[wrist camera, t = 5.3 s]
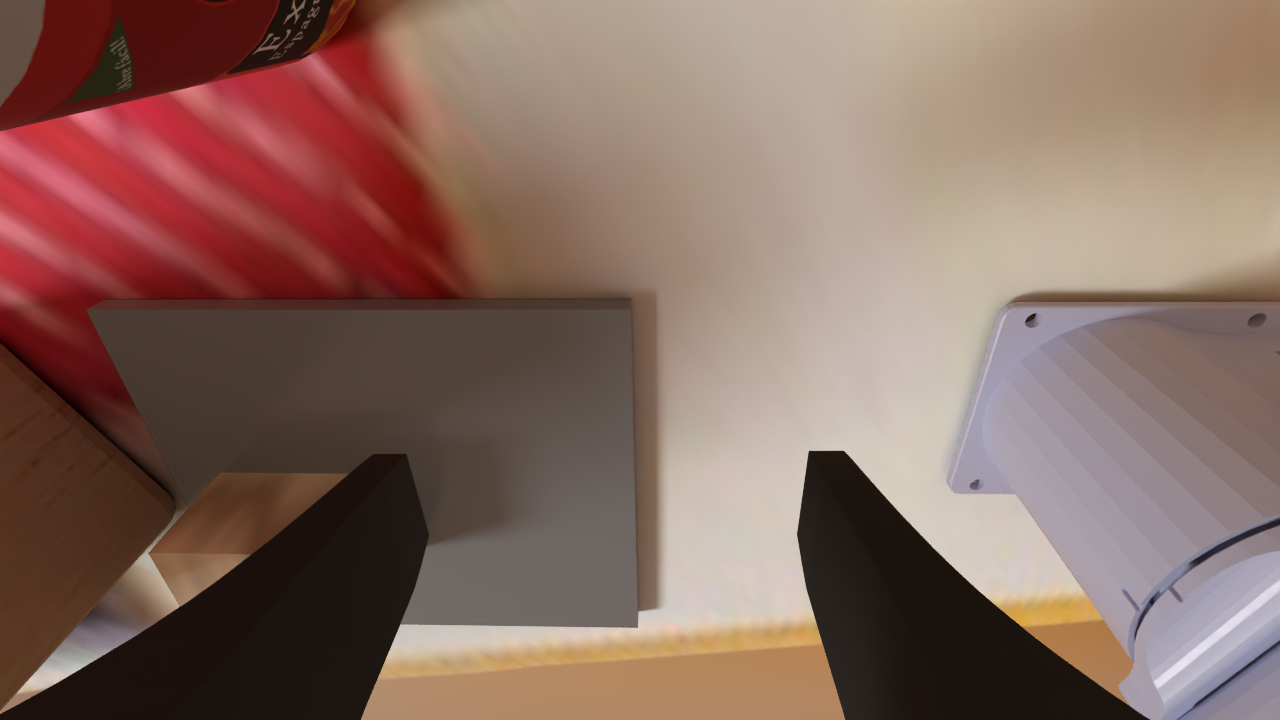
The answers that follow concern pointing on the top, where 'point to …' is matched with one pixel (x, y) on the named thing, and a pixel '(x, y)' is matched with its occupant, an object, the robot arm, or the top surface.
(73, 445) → the block
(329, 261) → the top surface
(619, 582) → the slate board
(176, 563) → the beech block
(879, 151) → the top surface
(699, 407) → the top surface
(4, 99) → the canned food
